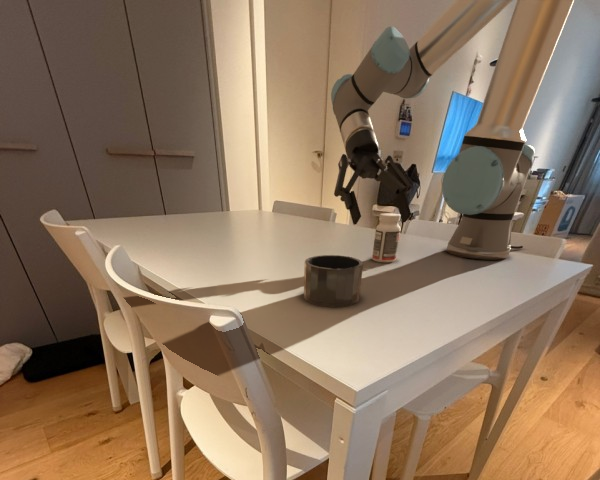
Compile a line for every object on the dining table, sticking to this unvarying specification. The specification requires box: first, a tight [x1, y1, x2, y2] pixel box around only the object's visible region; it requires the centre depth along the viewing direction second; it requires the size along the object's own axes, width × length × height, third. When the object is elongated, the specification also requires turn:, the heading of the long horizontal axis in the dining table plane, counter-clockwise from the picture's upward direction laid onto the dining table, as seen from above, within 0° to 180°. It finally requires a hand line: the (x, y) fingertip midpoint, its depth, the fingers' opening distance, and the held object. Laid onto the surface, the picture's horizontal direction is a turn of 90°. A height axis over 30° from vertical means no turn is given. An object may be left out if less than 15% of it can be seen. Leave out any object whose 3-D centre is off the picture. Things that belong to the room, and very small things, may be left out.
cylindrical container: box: [303, 254, 364, 308], centre depth 57 cm, size 10×10×6 cm
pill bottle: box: [371, 212, 402, 263], centre depth 79 cm, size 6×6×10 cm
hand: (382, 219), depth 79 cm, fingers open, 13 cm apart
